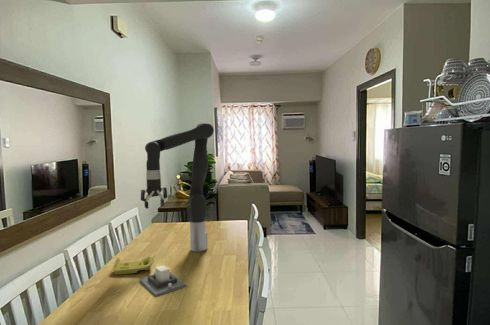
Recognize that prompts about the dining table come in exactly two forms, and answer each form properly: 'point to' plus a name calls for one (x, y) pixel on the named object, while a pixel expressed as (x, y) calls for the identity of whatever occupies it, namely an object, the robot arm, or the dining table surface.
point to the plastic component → (132, 265)
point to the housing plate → (162, 284)
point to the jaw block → (162, 273)
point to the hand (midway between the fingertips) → (154, 207)
